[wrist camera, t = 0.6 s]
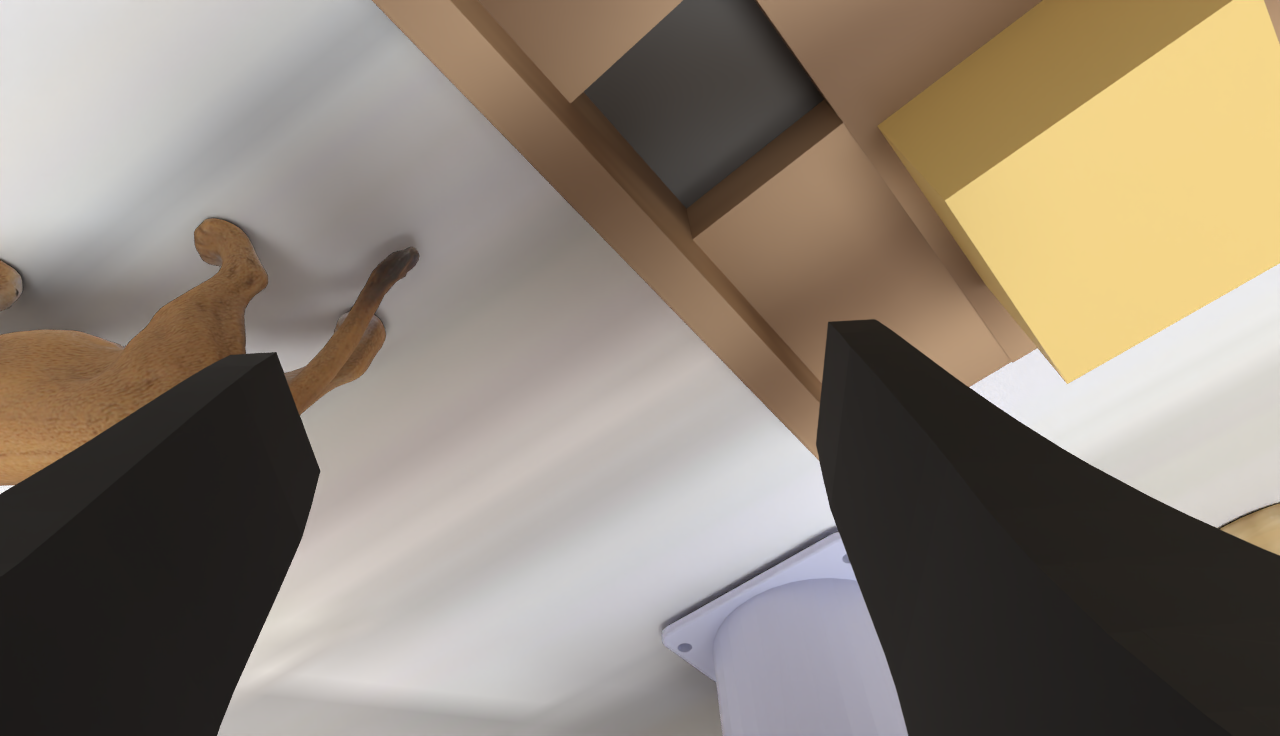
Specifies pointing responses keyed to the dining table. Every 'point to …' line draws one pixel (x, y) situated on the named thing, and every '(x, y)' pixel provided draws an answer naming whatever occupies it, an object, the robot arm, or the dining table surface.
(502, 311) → the dining table surface
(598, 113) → the walnut lane
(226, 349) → the lion figurine
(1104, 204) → the ochre block
